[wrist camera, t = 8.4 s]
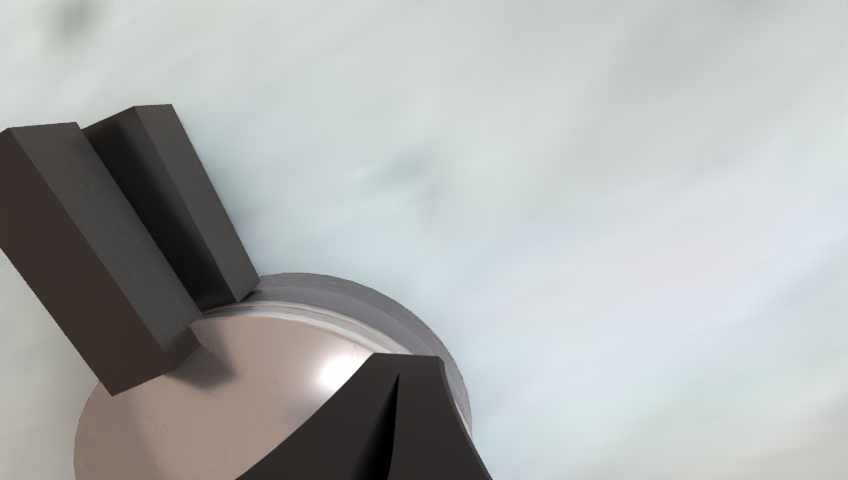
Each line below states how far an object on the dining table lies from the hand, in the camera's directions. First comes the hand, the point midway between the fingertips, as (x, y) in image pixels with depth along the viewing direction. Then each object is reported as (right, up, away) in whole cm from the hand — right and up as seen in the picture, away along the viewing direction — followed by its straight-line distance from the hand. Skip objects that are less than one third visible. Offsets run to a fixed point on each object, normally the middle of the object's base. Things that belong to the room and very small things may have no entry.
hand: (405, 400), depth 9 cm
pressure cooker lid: (-6, -3, +8) cm, 11 cm away
